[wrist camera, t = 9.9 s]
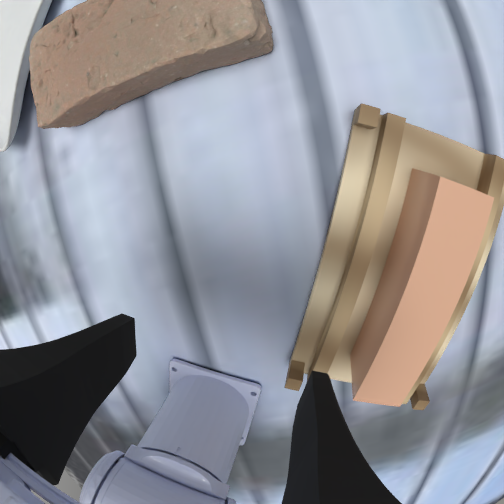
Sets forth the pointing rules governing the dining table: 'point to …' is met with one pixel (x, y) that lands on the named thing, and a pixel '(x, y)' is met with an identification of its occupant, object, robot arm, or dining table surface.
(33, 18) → the salad plate
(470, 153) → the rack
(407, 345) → the clay strip
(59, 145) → the dining table surface
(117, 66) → the brick
